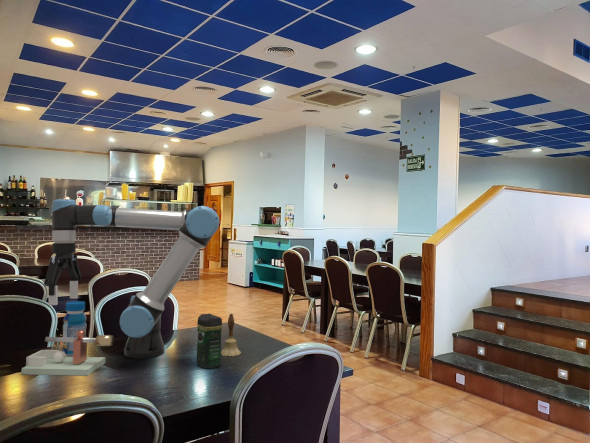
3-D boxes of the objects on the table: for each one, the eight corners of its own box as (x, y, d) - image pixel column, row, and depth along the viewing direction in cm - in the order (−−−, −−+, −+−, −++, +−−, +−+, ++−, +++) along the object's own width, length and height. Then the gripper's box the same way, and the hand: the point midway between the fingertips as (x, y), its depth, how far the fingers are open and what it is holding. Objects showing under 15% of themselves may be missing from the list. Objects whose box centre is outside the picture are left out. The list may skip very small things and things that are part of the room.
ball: (67, 360, 153) (68, 349, 154) (61, 364, 149) (62, 352, 150) (56, 360, 153) (56, 349, 154) (50, 364, 149) (50, 352, 150)
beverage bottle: (75, 357, 164) (77, 304, 165) (56, 355, 166) (58, 303, 166) (90, 351, 173) (92, 301, 173) (72, 349, 174) (73, 300, 175)
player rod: (114, 359, 154) (115, 329, 154) (108, 364, 149) (109, 332, 149) (49, 358, 154) (50, 327, 154) (41, 362, 149) (42, 331, 149)
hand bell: (216, 355, 172) (217, 314, 172) (227, 349, 179) (228, 311, 180) (234, 357, 169) (235, 316, 169) (244, 352, 176) (245, 313, 177)
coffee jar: (224, 366, 157) (225, 315, 158) (204, 370, 153) (205, 317, 153) (212, 359, 165) (213, 311, 166) (193, 363, 160) (194, 313, 161)
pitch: (105, 362, 159) (105, 349, 159) (87, 375, 145) (87, 360, 145) (45, 361, 158) (45, 347, 158) (21, 374, 144) (21, 359, 144)
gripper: (71, 241, 168) (71, 296, 167) (32, 243, 143) (31, 308, 142) (91, 241, 167) (91, 295, 167) (54, 243, 142) (54, 307, 142)
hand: (63, 301), depth 155 cm, fingers open, 13 cm apart
